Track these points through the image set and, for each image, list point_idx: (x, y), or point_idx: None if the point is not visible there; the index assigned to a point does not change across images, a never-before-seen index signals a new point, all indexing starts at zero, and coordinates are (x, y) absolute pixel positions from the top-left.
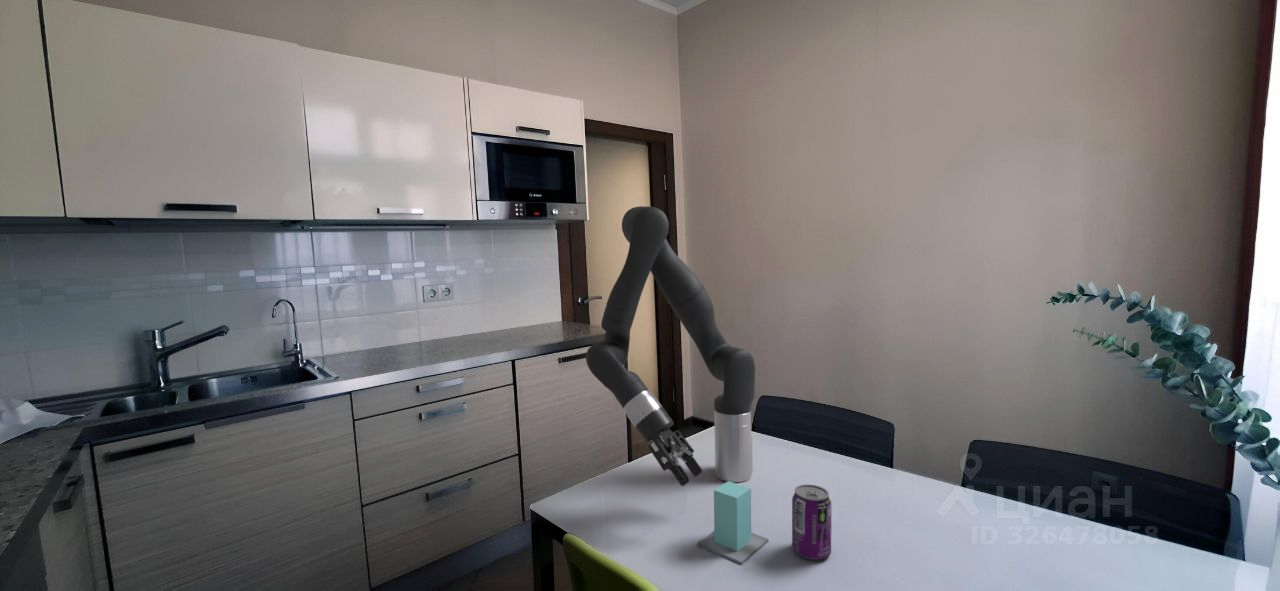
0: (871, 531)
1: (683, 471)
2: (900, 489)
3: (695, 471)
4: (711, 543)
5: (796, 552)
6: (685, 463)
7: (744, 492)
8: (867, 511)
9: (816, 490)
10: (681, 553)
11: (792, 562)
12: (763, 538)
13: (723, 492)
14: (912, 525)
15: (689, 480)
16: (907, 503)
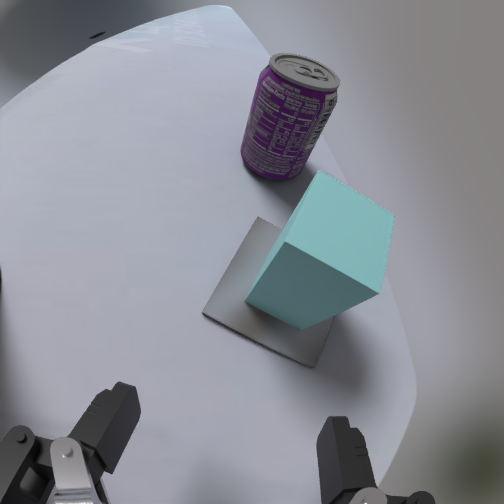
0: (192, 92)
1: (353, 453)
2: (85, 69)
3: (131, 415)
4: (309, 336)
5: (294, 176)
6: (112, 470)
7: (354, 190)
8: (135, 90)
9: (287, 63)
10: (348, 392)
11: None
12: (257, 225)
13: (380, 256)
14: (174, 66)
15: (337, 416)
16: (120, 65)
